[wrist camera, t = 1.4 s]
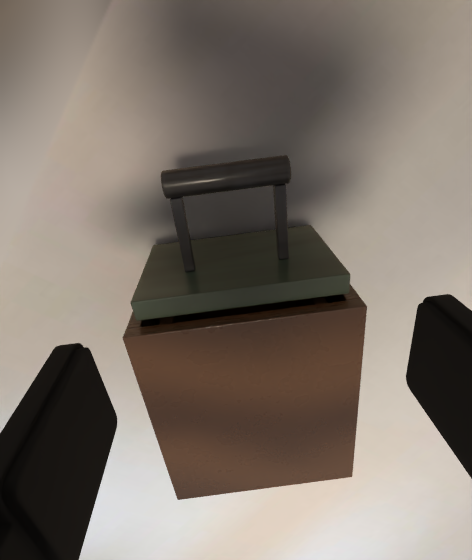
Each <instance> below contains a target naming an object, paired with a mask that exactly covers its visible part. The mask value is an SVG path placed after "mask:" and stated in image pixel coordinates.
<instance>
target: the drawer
mask: <svg viewBox="0 0 472 560" xmlns="http://www.w3.org/2000/svg"><path fill="white" fill-rule="evenodd" d="M290 179H291V167H290V161H289V158H288V156H287V155H283V156H275V157H267V158H260V159H252V160H244V161H236V162H228V163H220V164H213V165H205V166H197V167H189V168H181V169H173V170H166V171H162V172H161V183H162V188H163V192H164V195H165V197H166V198H167V199H170V198H171V199H170V201H171V206H172V211H173V216H174V221H175V226H176V231H177V235H178V240H179V242H175V243H167V244H159V245H153V248H152V250H151V253H150V255H149V258H148V260H147V263H146V265H145V268H144V270H143V273H142V275H141V278H140V280H139V283H138V285H137V288H136V290H135V293H134V295H133V298H132V300H131V305H132V309H133V312H134V315H135V318H136V321H139V320H147V319H155V318H160V321H159V325H162V324H170V323H178V322H185V321H193V320H201V319H208V318H216V317H224V316H231V315H239V314H247V313H255V312H262V311H270V310H278V309H285V308H293V307H301V306H308V305H316V304H324V303H328V302H327V301H326V299H325V297H324V296H332V295H340V294H348V293H349V287H350V273H349V272H348V271H347V269H346V268H345V267H344V266H343V264H342V263H341V262H340V261H339V259H338V258H337V257H336V256H335V254H334V253H333V252H332V251H331V249H330V248H329V247H328V246H327V244H326V243H325V242H324V241H323V239H322V238H321V237H320V236H319V234H318V233H317V232H316V231H315V229H314V228H313V227H312V226H311V225H307V226H299V227H291V228H288V225H287V200H286V185H285V184H287V183H289V182H290ZM271 185H273V191H274V208H275V225H276V230H268V231H260V232H252V233H245V234H237V235H229V236H221V237H213V238H206V239H198V240H190V234H189V229H188V224H187V219H186V213H185V208H184V203H183V197H185V196H193V195H201V194H209V193H216V192H224V191H232V190H240V189H248V188H255V187H263V186H271Z"/></svg>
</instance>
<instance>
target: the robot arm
mask: <svg viewBox="0 0 472 560" xmlns="http://www.w3.org/2000/svg"><path fill="white" fill-rule="evenodd" d="M406 381H407V384H408V387H409V389H410V390H411V392H412V393H413V395H414V396H415V398H416V399H417V400H418V402H419V403H420V405H421V406H422V408H423V409H424V410H425V412H426V413H427V415H428V416H429V418H430V419H431V421H432V422H433V423H434V425H435V426H436V428H437V429H438V431H439V432H440V434H441V435H442V436H443V438H444V439H445V441H446V442H447V444H448V445H449V447H450V448H451V449H452V451H453V452H454V454H455V455H456V457H457V458H458V460H459V461H460V462H461V464H462V465H463V467H464V468H465V470H466V471H467V472H468V474H469V475H470V477H471V478H472V311H471V310H470V309H468V308H467V307H466V306H465V305H463V304H462V303H461V302H460V301H458V300H457V299H456V298H455V297H453V296H452V295H449V294H446V295H438V296H431V297H427V298H425V299H424V301H423V303H420V304H419V305H418V308H417V314H416V320H415V326H414V332H413V338H412V344H411V350H410V356H409V362H408V367H407V373H406ZM116 428H117V416H116V413H115V410H114V408H113V406H112V403H111V401H110V398H109V396H108V393H107V391H106V388H105V386H104V383H103V381H102V378H101V376H100V373H99V371H98V369H97V366H96V364H95V361H94V359H93V356H92V354H91V351H90V350H89V348H84V347H83V346H82V345H81V344H80V343H75V344H68V345H60V346H57V347H55V348H54V350H53V351H52V353H51V354H50V356H49V358H48V359H47V361H46V362H45V364H44V365H43V367H42V369H41V370H40V372H39V373H38V375H37V377H36V378H35V380H34V381H33V383H32V384H31V386H30V388H29V389H28V391H27V392H26V394H25V395H24V397H23V399H22V400H21V402H20V403H19V405H18V406H17V408H16V410H15V411H14V413H13V414H12V416H11V417H10V419H9V421H8V422H7V424H6V425H5V427H4V429H3V430H2V432H1V433H0V560H79V556H80V553H81V549H82V546H83V542H84V539H85V535H86V532H87V529H88V525H89V522H90V518H91V515H92V511H93V508H94V504H95V501H96V497H97V494H98V490H99V487H100V484H101V480H102V477H103V473H104V470H105V466H106V463H107V459H108V456H109V452H110V449H111V445H112V442H113V439H114V435H115V432H116Z"/></svg>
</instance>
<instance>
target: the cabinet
mask: <svg viewBox="0 0 472 560" xmlns="http://www.w3.org/2000/svg"><path fill="white" fill-rule="evenodd" d="M324 297H325V299H326V301H327V302H328V303H324V304H316V305H308V306H301V307H293V308H285V309H278V310H270V311H262V312H255V313H247V314H239V315H231V316H224V317H216V318H208V319H201V320H193V321H185V322H178V323H170V324H162V325H159V321H160V318H155V319H147V320H139V321H136V318H135V315H134V312H132V315H131V318H130V321H129V323H128V326H127V329H126V331H125V333H124V336H123V340H124V343H125V346H126V349H127V352H128V355H129V358H130V361H131V364H132V367H133V370H134V373H135V376H136V379H137V382H138V384H139V387H140V390H141V393H142V396H143V399H144V402H145V405H146V408H147V411H148V414H149V417H150V420H151V423H152V426H153V429H154V431H155V434H156V437H157V440H158V443H159V446H160V449H161V452H162V455H163V458H164V461H165V464H166V467H167V470H168V473H169V476H170V479H171V481H172V484H173V487H174V490H175V493H176V496H177V499H178V500H180V499H188V498H196V497H203V496H211V495H218V494H226V493H233V492H241V491H248V490H256V489H264V488H271V487H279V486H286V485H294V484H301V483H309V482H316V481H324V480H332V479H339V478H347V477H352V472H353V461H354V449H355V438H356V426H357V415H358V403H359V391H360V380H361V368H362V357H363V345H364V334H365V322H366V311H367V306H366V305H365V303H364V302H363V301H362V299H361V298H360V297H359V295H358V294H357V293H356V291H355V290H354V289H353V287H352V286H351V285H350V287H349V293H348V294H340V295H332V296H324Z"/></svg>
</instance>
